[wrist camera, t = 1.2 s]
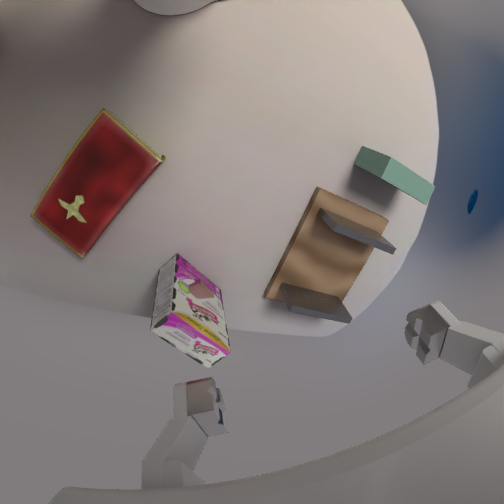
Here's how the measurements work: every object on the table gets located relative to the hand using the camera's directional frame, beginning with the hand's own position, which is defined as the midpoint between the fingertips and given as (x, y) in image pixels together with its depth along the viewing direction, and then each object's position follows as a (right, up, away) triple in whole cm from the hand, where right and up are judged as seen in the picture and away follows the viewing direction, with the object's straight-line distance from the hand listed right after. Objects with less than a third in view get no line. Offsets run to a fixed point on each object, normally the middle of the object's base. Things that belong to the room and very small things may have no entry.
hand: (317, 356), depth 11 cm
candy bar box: (-13, -1, +43) cm, 45 cm away
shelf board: (+11, +3, +46) cm, 47 cm away
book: (+20, +19, +39) cm, 48 cm away
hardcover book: (-27, +15, +33) cm, 45 cm away
